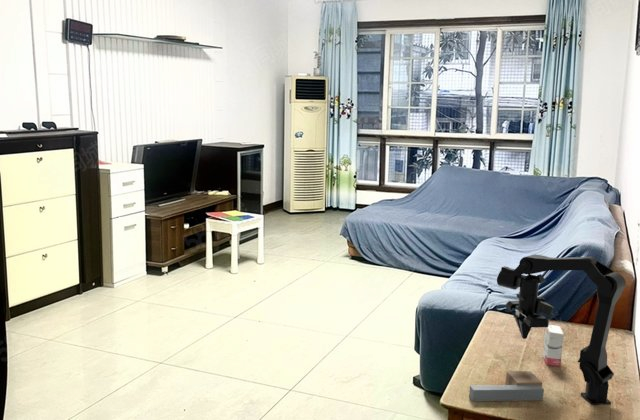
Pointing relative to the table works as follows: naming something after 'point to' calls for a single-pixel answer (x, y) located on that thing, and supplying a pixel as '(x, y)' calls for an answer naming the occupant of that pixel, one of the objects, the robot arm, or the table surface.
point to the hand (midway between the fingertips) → (524, 338)
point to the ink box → (553, 345)
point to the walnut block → (521, 378)
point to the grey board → (505, 392)
